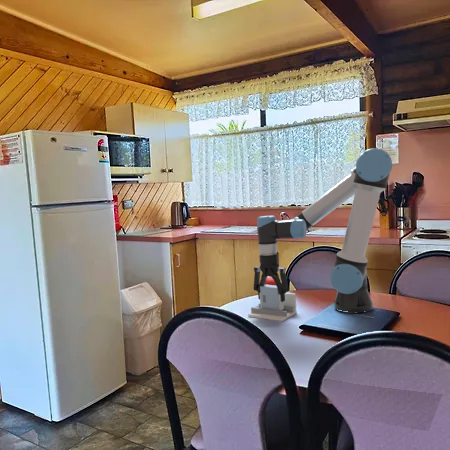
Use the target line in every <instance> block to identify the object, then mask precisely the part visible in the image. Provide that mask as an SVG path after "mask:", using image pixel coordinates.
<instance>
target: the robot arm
mask: <svg viewBox="0 0 450 450" xmlns="http://www.w3.org/2000/svg"><path fill="white" fill-rule="evenodd" d="M392 169H393V161H392V158H391V156H390V154H389V153H388V152H387V151H386V150H384V149H381V148H377V147H376V148H374V147H373V148H368V149H366V150H364V151H362V153H361V154H360V155H359V156H358V158H357V159H356V163H355V166H354V167H353V168H352V169H351V170H350V171H351V173H350V174H348V175H347V176H346V177H345V178H343V179H342V180H341V181H340V182H338V183H337V184H335V185H334V186H333V187H331V188H330V189H329V190H328V191H327V192H325V193H324V194H323V195H322V196H320V197H319V198H318V199H316V200H315V201H314V202H313V203H311V204H310V205H309V206H307V207H306V208H305V209H303V210H302V211H301V212H300V213H298V214H297V215H296V216H295V217H293V218H291V219H283V220H279V219H276V216H275V215H263V216H262V215H260V216H258V217H257V220H256V221H257V223H256V225H257V227H256V230H257V240H258V241H257V243H258V253H259V257H258V258H259V266H254V268H253V271H254V277H253V291H256V292H257V296H258V300H259V302H260V303H259V304H260V305H261V291H260V286H263V285H265V281H266V278H267V277H268V276H270V277H271V278H273V279H274V281H275V284H276V286H277V288H278V290H279V293H280V294H278V300H279V310H282V309H284V301H285V293H290V292H289V291H290V287H289V285H288V280H287V279H288V278H287V276H286V267H280V266H279V255H278V242H277V240H281V239H282V240H283V239H285V240H287V239H289V240H291V239H295V240H299V239H304V238H306V236H307V232H308V230H310V229H311V228H312V227H313V226H315V225H316V224H317V223H319V222H320V221H321V220H323V219H324V218H325V217H327V216H328V215H329V214H330V213H332V212H333V211H335V210H336V209H337V208H339V207H340V206H341V205H343V204H344V203H346V202H347V201H348V200H349V199H351V198H353V201H352V205H351V208H350V212H349V213H350V215H349V216H348V217H349V218H348V222H347V227H346V230H345V234H344V239H343V244H342V247H341V250H339V251H338V252H337V253H336V255H335V260H334V264H333V268H332V270H331V271H330V273H329V274H330V275H329V281H330V284H331V285H332V287H333V288H334V289H335V290H336V296H335V300H334V305H333V306H334V309H335V308H336V309H338V310H342V311H348V312H364V311H369V310H371V309H372V310H374V304H373V300H372V297H371V296H370V293H369V291H368V290H369V289H368V280H367V279H368V275H367V267H368V262H369V260H368V258H367V257H366V253H367V248H368V244H369V240H370V237H371V232H372V229H373V225H374V224H373V223H374V221H375V216H376V213H377V209H378V204H379V201H380V196H381V193H382V192H384V191H385V190H386V189H387V186H388V182H389V179H390V174H391V171H392ZM353 196H354V197H353ZM281 282H282V283H281ZM261 308H262V305H261ZM336 309H335V310H336ZM372 310H371V311H372ZM369 312H370V311H369ZM364 313H365V312H364Z"/></svg>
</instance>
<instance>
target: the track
mask: <svg viewBox="0 0 450 450" xmlns="http://www.w3.org/2000/svg"><path fill="white" fill-rule="evenodd" d="M296 295H297V294H296V293H291V292H287V293H285V301H284V309H283V310H282V311H281V310H273V309H264V308H261V305H260V303H258V307H256V306H255V307H253V306H252V307H251V308H250V311H251V312H249V313H248V315H247V316H248V317H250V318H257V319H262V320H263V319H265V320H270V321H277V322H284V321H286V320H287V319H289V318H291V317H292V316H293V315H295V314H297V312H298V311H297V298H296V297H297V296H296Z"/></svg>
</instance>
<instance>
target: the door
mask: <svg viewBox="0 0 450 450" xmlns="http://www.w3.org/2000/svg"><path fill="white" fill-rule="evenodd" d="M260 291H261V305H262V308H264V309H273V310H279V300H278V294H280V293H279V290H278V288H277V286H276V285H263V286H260ZM282 310H283V309H282ZM282 310H281V311H282Z"/></svg>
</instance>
